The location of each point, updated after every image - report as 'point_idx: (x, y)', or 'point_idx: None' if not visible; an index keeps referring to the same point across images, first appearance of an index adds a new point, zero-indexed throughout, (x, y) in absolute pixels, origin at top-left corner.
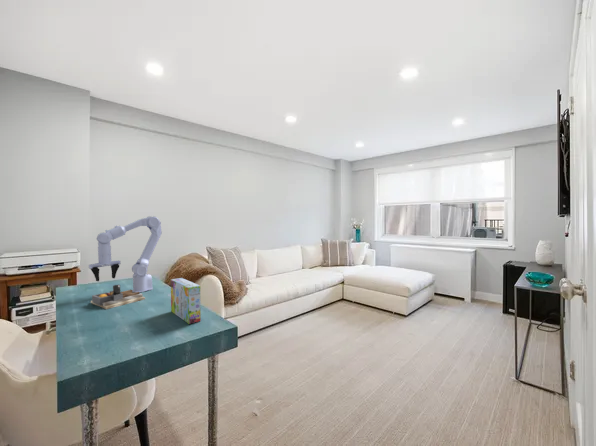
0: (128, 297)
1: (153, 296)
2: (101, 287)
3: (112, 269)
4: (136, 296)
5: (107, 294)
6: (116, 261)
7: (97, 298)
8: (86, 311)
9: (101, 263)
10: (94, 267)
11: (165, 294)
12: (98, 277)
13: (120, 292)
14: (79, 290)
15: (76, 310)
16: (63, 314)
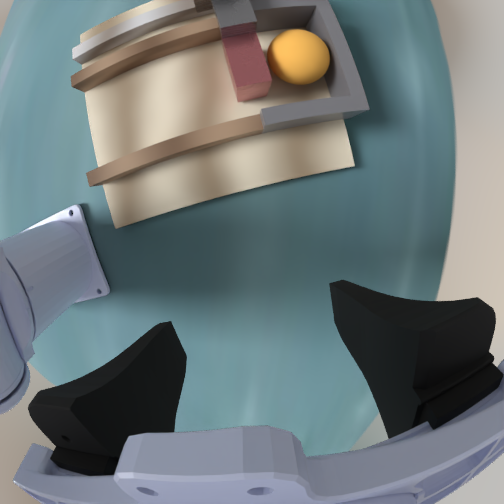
0: (153, 11)
1: (43, 74)
2: None
3: (156, 428)
4: (108, 33)
5: (267, 71)
6: (44, 496)
7: (336, 26)
8: (369, 17)
9: (404, 499)
10: (480, 390)
11: (8, 87)
12: (354, 292)
13: (163, 141)
14: (325, 448)
15: (409, 72)
16: (443, 63)
